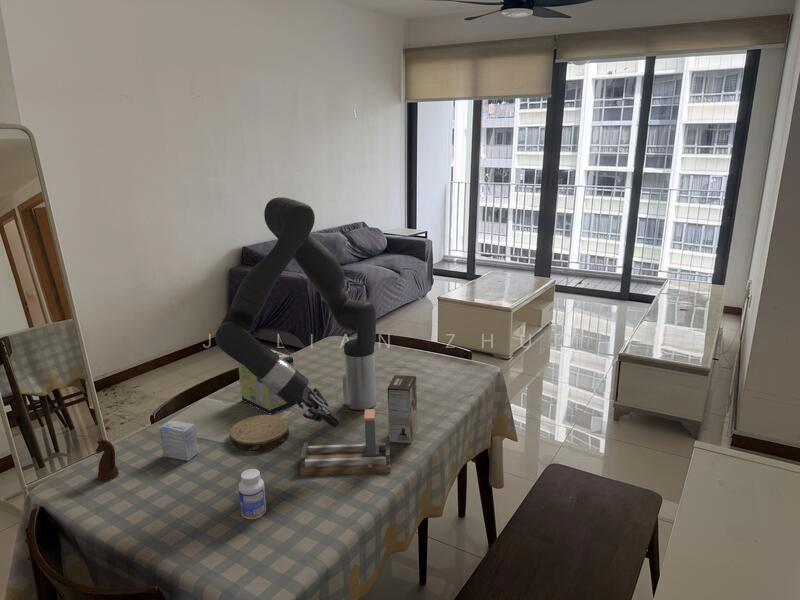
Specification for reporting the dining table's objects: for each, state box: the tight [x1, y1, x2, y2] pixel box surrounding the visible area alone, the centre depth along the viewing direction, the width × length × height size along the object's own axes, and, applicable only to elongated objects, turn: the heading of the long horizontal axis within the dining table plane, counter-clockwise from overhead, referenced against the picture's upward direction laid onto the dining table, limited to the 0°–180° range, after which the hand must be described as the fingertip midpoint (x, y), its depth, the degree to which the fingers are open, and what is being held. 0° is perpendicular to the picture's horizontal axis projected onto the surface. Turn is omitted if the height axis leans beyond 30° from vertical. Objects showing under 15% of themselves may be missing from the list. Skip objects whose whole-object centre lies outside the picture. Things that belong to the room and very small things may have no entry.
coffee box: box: [387, 374, 418, 444], centre depth 152 cm, size 9×6×16 cm
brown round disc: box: [229, 414, 290, 453], centre depth 155 cm, size 16×16×3 cm
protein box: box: [237, 349, 297, 414], centre depth 174 cm, size 10×16×16 cm
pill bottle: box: [238, 468, 267, 520], centre depth 121 cm, size 5×5×10 cm
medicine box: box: [159, 420, 199, 462], centre depth 145 cm, size 8×4×9 cm, turn 71°
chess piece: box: [95, 438, 120, 482], centre depth 136 cm, size 5×5×10 cm
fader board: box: [299, 439, 391, 476], centre depth 141 cm, size 22×10×4 cm, turn 92°
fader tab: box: [363, 408, 379, 457], centre depth 139 cm, size 4×5×12 cm
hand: (337, 424), depth 138 cm, fingers closed
